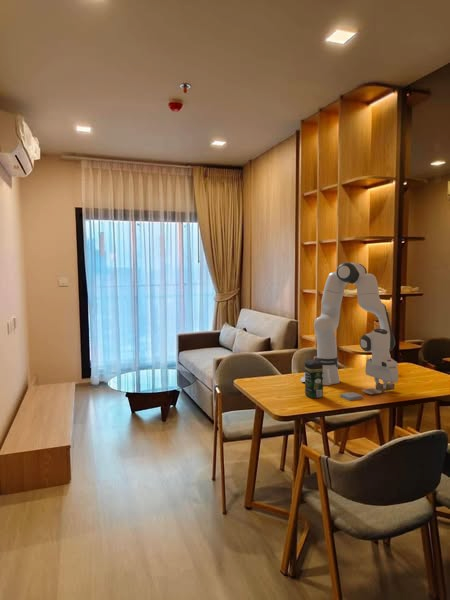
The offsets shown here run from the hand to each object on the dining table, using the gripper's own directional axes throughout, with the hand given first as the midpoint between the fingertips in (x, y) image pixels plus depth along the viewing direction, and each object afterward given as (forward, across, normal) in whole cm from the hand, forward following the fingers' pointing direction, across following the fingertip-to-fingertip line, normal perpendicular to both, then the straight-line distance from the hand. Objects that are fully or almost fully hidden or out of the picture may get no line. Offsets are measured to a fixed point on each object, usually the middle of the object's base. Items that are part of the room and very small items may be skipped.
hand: (381, 387), depth 210 cm
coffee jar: (+3, -10, -34) cm, 35 cm away
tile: (+1, 0, -15) cm, 15 cm away
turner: (+2, 0, -1) cm, 2 cm away
